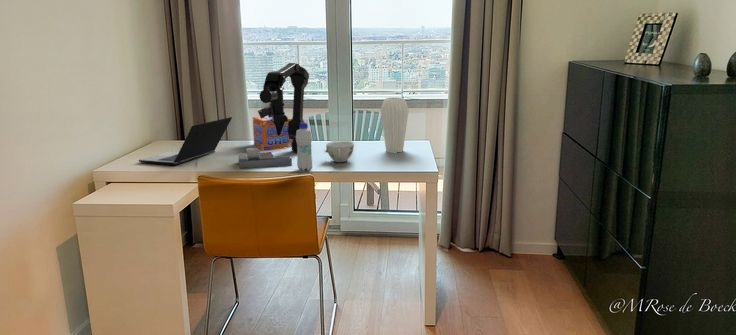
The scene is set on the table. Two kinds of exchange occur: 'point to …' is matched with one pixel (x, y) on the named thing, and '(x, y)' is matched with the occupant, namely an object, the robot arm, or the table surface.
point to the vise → (263, 162)
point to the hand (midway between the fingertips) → (278, 135)
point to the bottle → (304, 147)
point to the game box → (269, 134)
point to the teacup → (340, 150)
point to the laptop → (194, 143)
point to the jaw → (266, 156)
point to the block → (252, 154)
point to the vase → (394, 123)
